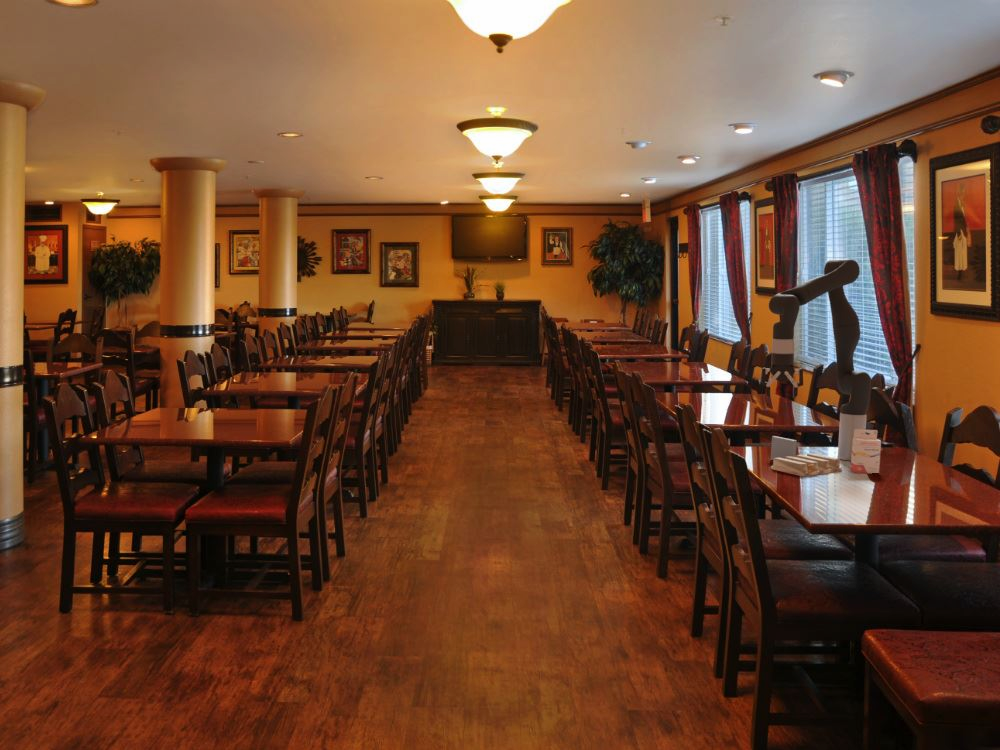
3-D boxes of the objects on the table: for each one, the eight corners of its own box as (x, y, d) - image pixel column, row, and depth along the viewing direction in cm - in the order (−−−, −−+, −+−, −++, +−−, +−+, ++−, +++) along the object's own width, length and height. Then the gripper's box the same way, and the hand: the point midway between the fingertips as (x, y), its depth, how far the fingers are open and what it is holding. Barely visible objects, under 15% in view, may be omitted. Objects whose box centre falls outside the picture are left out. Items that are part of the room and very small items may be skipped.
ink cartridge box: (854, 473, 320) (856, 431, 319) (850, 470, 325) (852, 428, 324) (879, 474, 319) (882, 432, 318) (875, 471, 324) (877, 429, 323)
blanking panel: (773, 460, 341) (774, 436, 340) (795, 465, 333) (796, 440, 332) (770, 460, 340) (771, 436, 339) (792, 465, 332) (793, 440, 331)
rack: (809, 463, 335) (809, 452, 335) (841, 470, 323) (842, 459, 323) (770, 468, 324) (771, 457, 324) (802, 476, 313) (803, 464, 312)
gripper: (803, 351, 325) (801, 396, 327) (761, 350, 329) (760, 395, 331) (804, 353, 318) (803, 399, 320) (762, 352, 322) (760, 398, 323)
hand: (781, 397), depth 325 cm, fingers open, 8 cm apart
